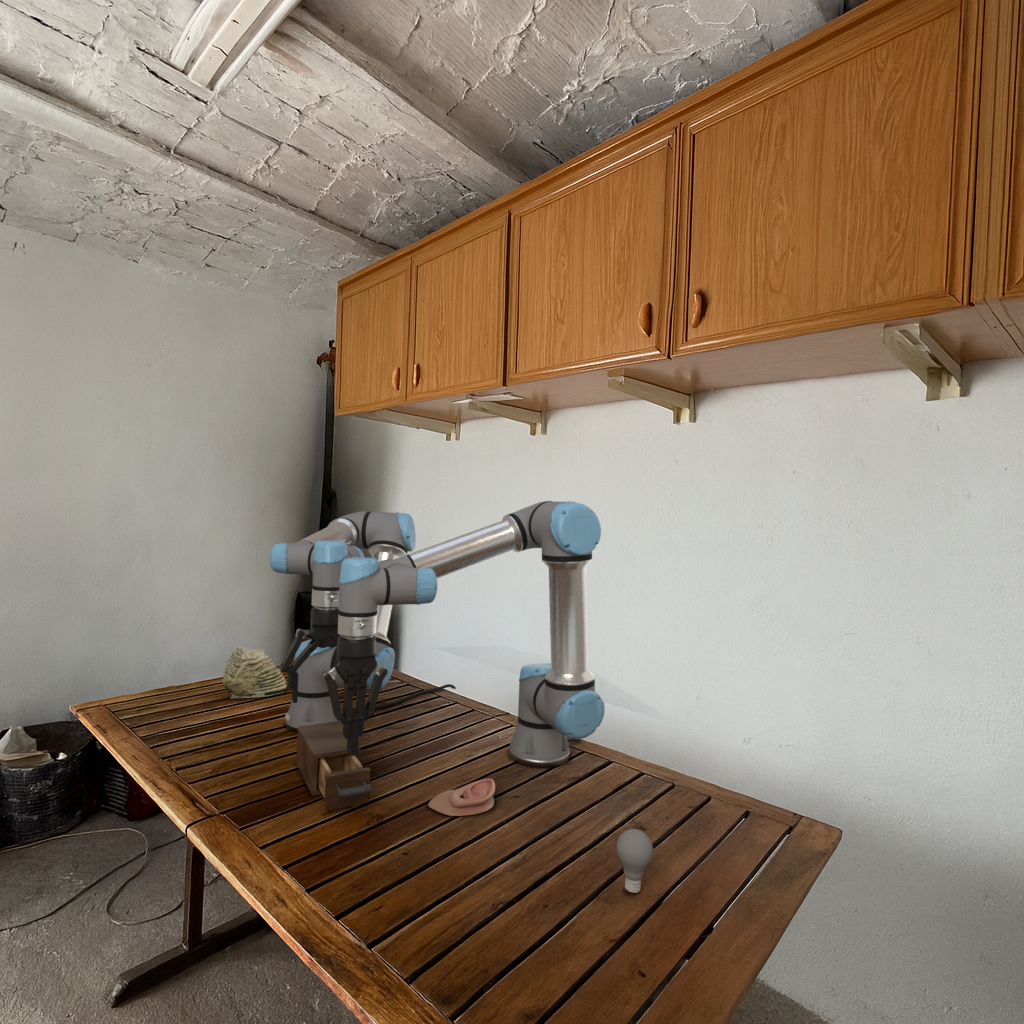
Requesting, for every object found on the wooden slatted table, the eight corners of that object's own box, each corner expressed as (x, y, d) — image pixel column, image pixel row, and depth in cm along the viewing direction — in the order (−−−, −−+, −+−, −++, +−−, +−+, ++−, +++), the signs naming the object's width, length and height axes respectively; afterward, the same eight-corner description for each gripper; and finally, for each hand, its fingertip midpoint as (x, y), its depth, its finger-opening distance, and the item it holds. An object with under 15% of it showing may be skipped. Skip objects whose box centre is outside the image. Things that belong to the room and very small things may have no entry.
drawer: (376, 814, 126) (378, 779, 126) (331, 823, 121) (333, 788, 121) (347, 770, 145) (349, 740, 145) (308, 777, 141) (309, 746, 140)
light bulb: (610, 879, 108) (613, 822, 108) (644, 879, 109) (647, 822, 109) (619, 902, 102) (622, 840, 102) (655, 901, 103) (658, 840, 103)
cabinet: (359, 787, 139) (360, 747, 139) (312, 796, 134) (313, 754, 134) (338, 756, 154) (340, 720, 154) (296, 763, 150) (297, 726, 149)
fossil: (218, 695, 195) (220, 647, 195) (278, 685, 208) (279, 640, 207) (228, 703, 189) (230, 653, 188) (289, 692, 201) (290, 645, 201)
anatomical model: (423, 792, 129) (441, 769, 140) (422, 812, 129) (440, 787, 140) (487, 801, 126) (499, 777, 137) (486, 821, 126) (498, 795, 137)
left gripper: (274, 612, 138) (270, 709, 138) (385, 607, 150) (381, 696, 150) (269, 606, 144) (265, 699, 145) (375, 602, 157) (372, 687, 157)
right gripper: (328, 641, 120) (323, 765, 120) (394, 637, 126) (389, 754, 126) (319, 633, 126) (314, 751, 127) (382, 629, 133) (378, 741, 133)
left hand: (324, 698), depth 148 cm, fingers open, 13 cm apart
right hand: (352, 752), depth 127 cm, fingers closed
